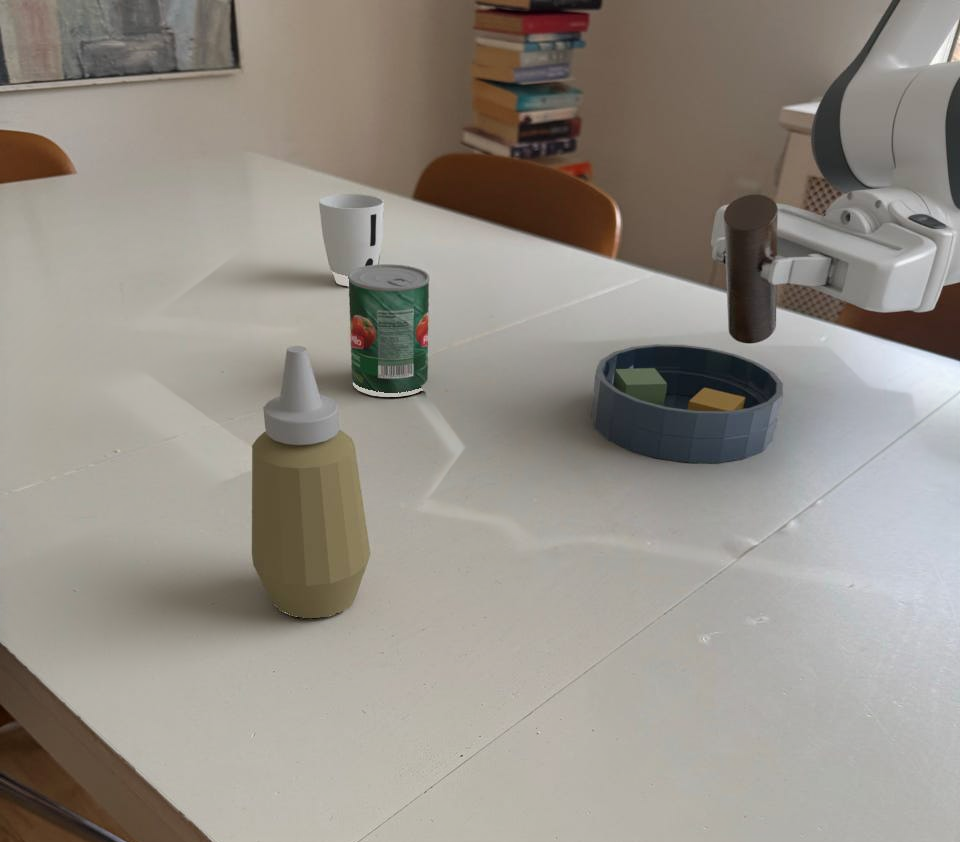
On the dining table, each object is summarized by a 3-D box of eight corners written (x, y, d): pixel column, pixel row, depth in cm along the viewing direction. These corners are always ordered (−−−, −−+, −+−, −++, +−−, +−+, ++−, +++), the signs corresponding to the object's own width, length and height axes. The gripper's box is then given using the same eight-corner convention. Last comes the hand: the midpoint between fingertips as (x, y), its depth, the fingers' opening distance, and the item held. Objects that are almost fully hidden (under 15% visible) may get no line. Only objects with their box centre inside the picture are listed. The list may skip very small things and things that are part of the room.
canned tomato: (336, 380, 104) (331, 271, 97) (398, 364, 108) (397, 259, 101) (381, 405, 99) (379, 292, 92) (443, 387, 103) (446, 279, 97)
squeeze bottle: (395, 598, 71) (392, 350, 61) (307, 646, 66) (287, 385, 56) (320, 556, 75) (304, 318, 65) (232, 598, 70) (200, 347, 60)
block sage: (648, 407, 99) (654, 368, 97) (661, 423, 96) (667, 383, 94) (609, 408, 98) (614, 368, 96) (621, 424, 95) (626, 384, 93)
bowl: (742, 397, 104) (752, 345, 101) (794, 472, 90) (808, 414, 87) (579, 395, 103) (584, 342, 100) (606, 470, 89) (614, 412, 86)
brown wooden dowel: (778, 309, 87) (780, 192, 77) (773, 343, 85) (774, 229, 75) (731, 309, 88) (727, 195, 78) (725, 344, 87) (720, 231, 76)
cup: (376, 293, 127) (375, 210, 122) (315, 288, 128) (310, 205, 122) (391, 276, 134) (390, 196, 128) (332, 270, 135) (329, 191, 129)
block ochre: (737, 437, 94) (745, 397, 92) (722, 452, 91) (731, 411, 89) (696, 427, 96) (704, 387, 93) (681, 441, 93) (688, 400, 90)
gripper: (790, 180, 91) (669, 191, 86) (974, 235, 77) (843, 253, 71) (775, 251, 95) (658, 266, 89) (949, 317, 81) (822, 340, 75)
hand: (742, 261), depth 80 cm, fingers closed on brown wooden dowel, 4 cm apart
